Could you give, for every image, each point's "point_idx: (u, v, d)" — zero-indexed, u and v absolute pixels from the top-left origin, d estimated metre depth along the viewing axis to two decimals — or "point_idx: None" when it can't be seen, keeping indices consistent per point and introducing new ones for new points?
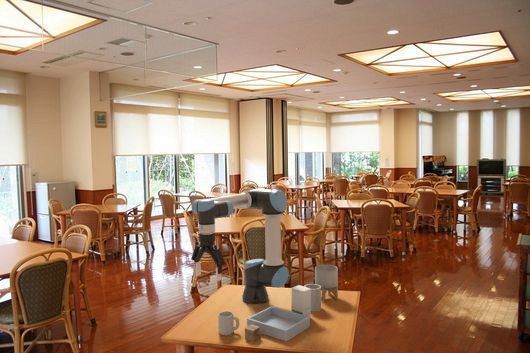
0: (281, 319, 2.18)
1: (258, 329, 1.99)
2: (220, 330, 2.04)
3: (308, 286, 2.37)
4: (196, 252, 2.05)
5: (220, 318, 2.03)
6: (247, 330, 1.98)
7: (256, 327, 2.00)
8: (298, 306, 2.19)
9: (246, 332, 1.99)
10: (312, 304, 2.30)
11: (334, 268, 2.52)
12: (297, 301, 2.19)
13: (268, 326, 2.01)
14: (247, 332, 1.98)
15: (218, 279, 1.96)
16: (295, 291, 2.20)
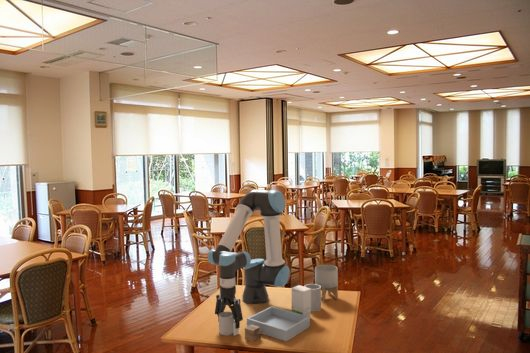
0: (281, 319, 2.18)
1: (258, 329, 1.99)
2: (220, 330, 2.04)
3: (308, 286, 2.37)
4: (218, 305, 2.09)
5: (220, 318, 2.03)
6: (247, 330, 1.98)
7: (256, 327, 2.00)
8: (298, 306, 2.19)
9: (246, 332, 1.99)
10: (312, 304, 2.30)
11: (334, 268, 2.52)
12: (297, 301, 2.19)
13: (268, 326, 2.01)
14: (247, 332, 1.98)
15: (236, 333, 2.03)
16: (295, 291, 2.20)
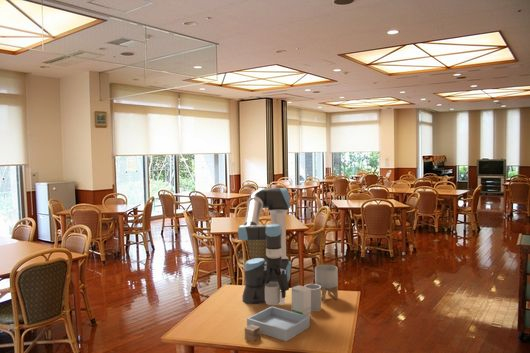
0: (281, 319, 2.18)
1: (258, 329, 1.99)
2: (267, 300, 2.08)
3: (308, 286, 2.37)
4: (264, 276, 2.13)
5: (267, 288, 2.07)
6: (247, 330, 1.98)
7: (256, 327, 2.00)
8: (298, 306, 2.19)
9: (246, 332, 1.99)
10: (312, 304, 2.30)
11: (334, 268, 2.52)
12: (297, 301, 2.19)
13: (268, 326, 2.01)
14: (247, 332, 1.98)
15: (282, 303, 2.07)
16: (295, 291, 2.20)
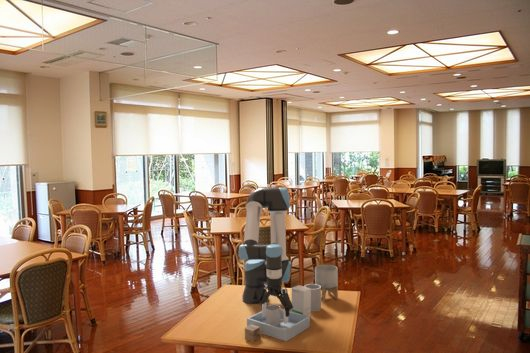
0: None
1: (258, 329, 1.99)
2: (268, 323, 2.09)
3: (308, 286, 2.37)
4: (262, 294, 2.15)
5: (268, 311, 2.08)
6: (247, 330, 1.98)
7: (256, 327, 2.00)
8: (298, 306, 2.19)
9: (246, 332, 1.99)
10: (312, 304, 2.30)
11: (334, 268, 2.52)
12: (297, 301, 2.19)
13: (268, 326, 2.01)
14: (247, 332, 1.98)
15: (286, 321, 2.07)
16: (295, 291, 2.20)
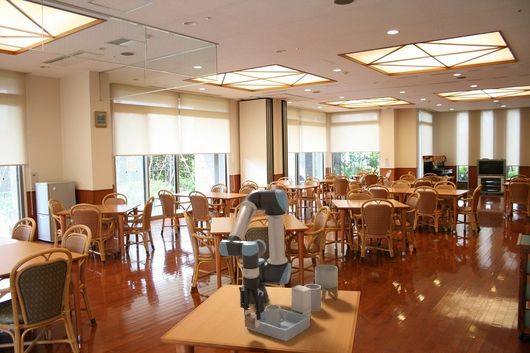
0: None
1: None
2: (268, 323, 2.09)
3: (308, 286, 2.37)
4: (243, 298, 2.02)
5: (268, 311, 2.08)
6: (247, 318, 1.98)
7: None
8: (298, 306, 2.19)
9: (246, 320, 1.99)
10: (312, 304, 2.30)
11: (334, 268, 2.52)
12: (297, 301, 2.19)
13: (268, 326, 2.01)
14: (247, 320, 1.98)
15: (257, 325, 1.98)
16: (295, 291, 2.20)
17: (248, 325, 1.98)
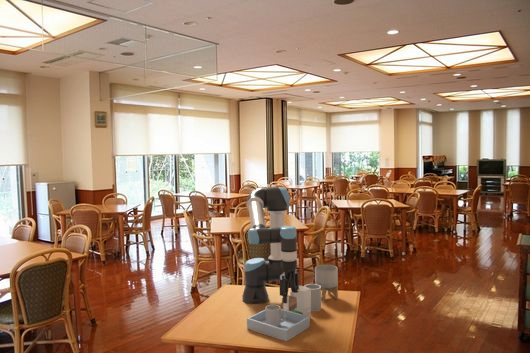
0: None
1: None
2: (268, 323, 2.09)
3: (308, 286, 2.37)
4: (294, 280, 2.08)
5: (268, 311, 2.08)
6: None
7: (289, 299, 2.03)
8: (298, 306, 2.19)
9: None
10: (312, 304, 2.30)
11: (334, 268, 2.52)
12: (297, 301, 2.19)
13: (268, 326, 2.01)
14: None
15: (284, 308, 2.03)
16: None
17: None
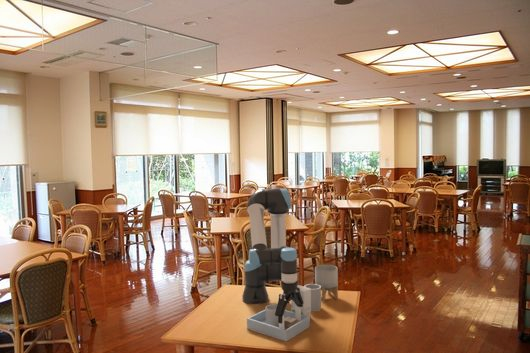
0: None
1: (289, 323, 2.03)
2: (268, 323, 2.09)
3: (308, 286, 2.37)
4: (297, 297, 2.11)
5: (268, 311, 2.08)
6: None
7: (290, 321, 2.04)
8: None
9: None
10: (312, 304, 2.30)
11: (334, 268, 2.52)
12: None
13: (268, 326, 2.01)
14: None
15: (280, 327, 2.01)
16: None
17: None
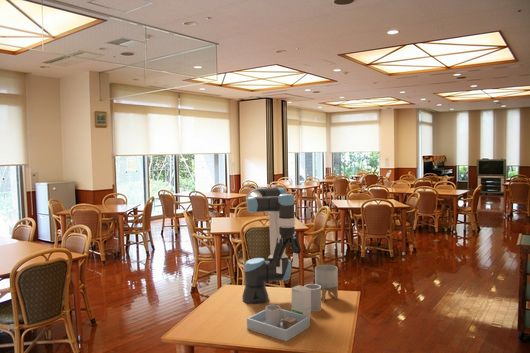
0: None
1: (289, 323, 2.03)
2: (268, 323, 2.09)
3: (308, 286, 2.37)
4: (295, 244, 2.13)
5: (268, 311, 2.08)
6: None
7: (290, 321, 2.04)
8: (298, 306, 2.19)
9: None
10: (312, 304, 2.30)
11: (334, 268, 2.52)
12: (297, 301, 2.19)
13: (268, 326, 2.01)
14: None
15: (277, 271, 2.03)
16: (295, 291, 2.20)
17: None
